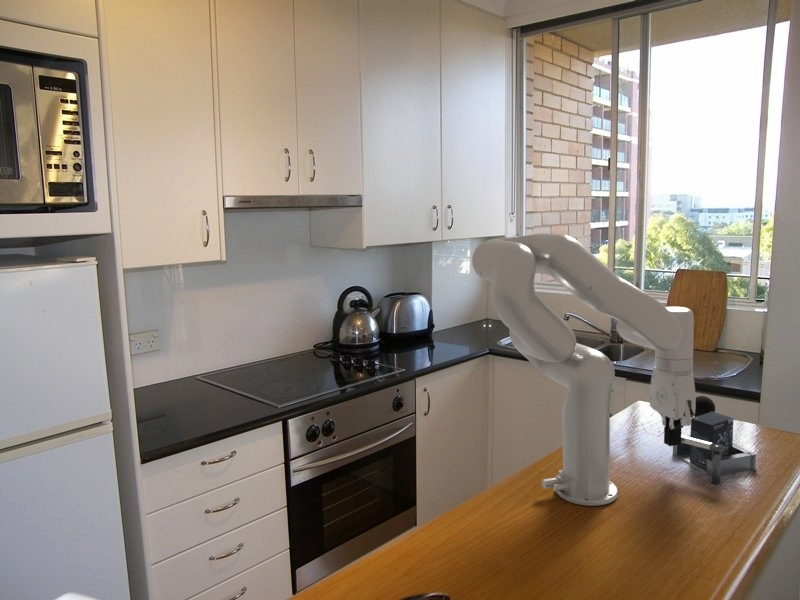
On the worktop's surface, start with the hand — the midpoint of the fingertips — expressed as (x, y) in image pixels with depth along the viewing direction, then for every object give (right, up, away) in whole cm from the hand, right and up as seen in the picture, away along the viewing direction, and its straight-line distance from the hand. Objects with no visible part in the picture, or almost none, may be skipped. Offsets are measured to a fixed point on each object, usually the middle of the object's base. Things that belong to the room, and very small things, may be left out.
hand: (672, 443), depth 137 cm
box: (+11, -6, +6) cm, 14 cm away
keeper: (+12, -6, +5) cm, 14 cm away
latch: (+4, 0, -1) cm, 4 cm away
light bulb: (+18, -3, +23) cm, 29 cm away
